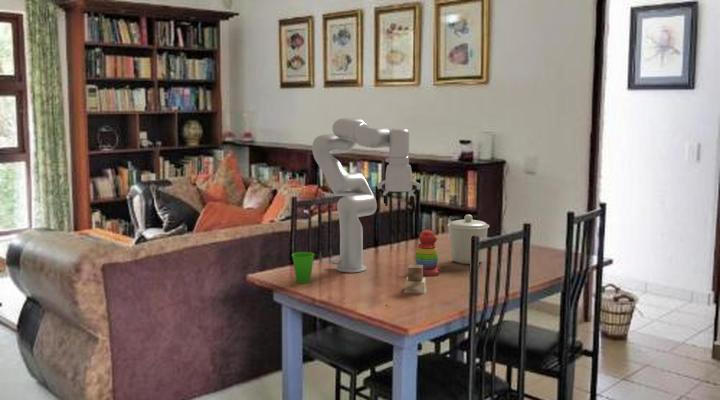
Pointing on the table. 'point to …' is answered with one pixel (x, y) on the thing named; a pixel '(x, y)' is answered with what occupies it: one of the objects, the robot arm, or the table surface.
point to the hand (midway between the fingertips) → (398, 205)
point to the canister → (465, 238)
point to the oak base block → (415, 286)
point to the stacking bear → (427, 253)
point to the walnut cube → (415, 272)
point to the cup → (303, 266)
